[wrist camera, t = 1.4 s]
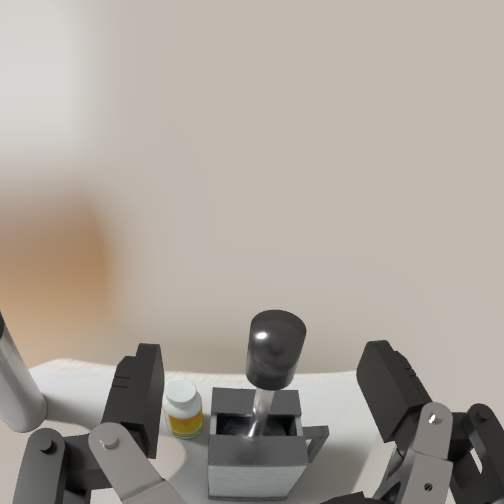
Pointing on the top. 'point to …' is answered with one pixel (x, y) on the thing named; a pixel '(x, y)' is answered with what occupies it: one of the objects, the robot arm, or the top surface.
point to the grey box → (258, 448)
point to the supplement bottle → (182, 408)
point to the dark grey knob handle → (269, 368)
